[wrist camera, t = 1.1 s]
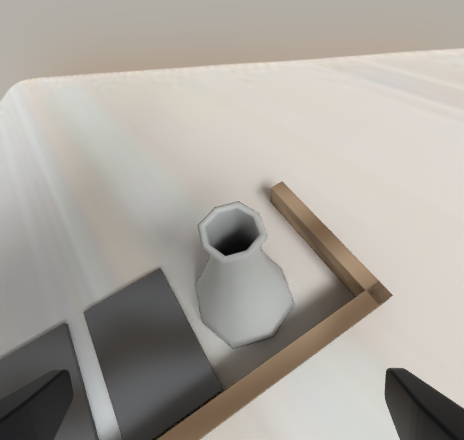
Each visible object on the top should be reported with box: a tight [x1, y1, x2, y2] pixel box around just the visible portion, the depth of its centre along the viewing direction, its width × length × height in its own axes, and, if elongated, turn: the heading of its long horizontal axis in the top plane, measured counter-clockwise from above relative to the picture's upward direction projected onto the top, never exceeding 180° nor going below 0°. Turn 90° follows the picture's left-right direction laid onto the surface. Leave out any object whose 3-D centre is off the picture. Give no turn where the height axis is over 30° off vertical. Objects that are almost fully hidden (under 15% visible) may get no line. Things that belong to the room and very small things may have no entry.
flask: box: [195, 201, 295, 348], centre depth 18 cm, size 7×7×10 cm
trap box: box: [0, 182, 393, 440], centre depth 19 cm, size 12×38×2 cm, turn 121°
